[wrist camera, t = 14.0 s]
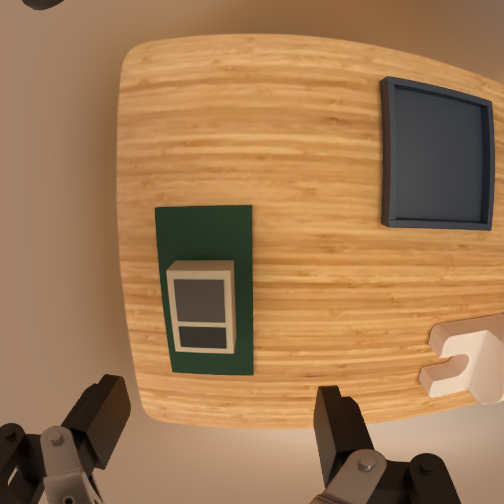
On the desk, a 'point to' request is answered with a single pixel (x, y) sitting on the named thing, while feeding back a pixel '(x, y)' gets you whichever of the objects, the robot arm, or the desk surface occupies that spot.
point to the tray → (436, 157)
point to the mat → (210, 248)
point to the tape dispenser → (468, 359)
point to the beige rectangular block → (202, 305)
